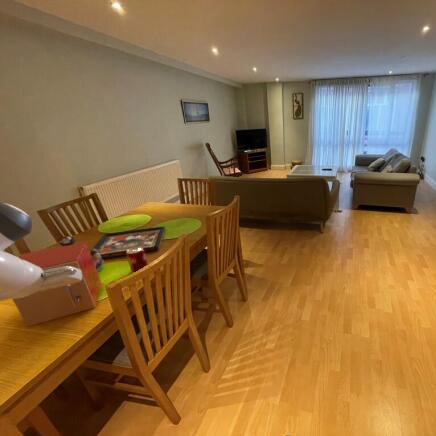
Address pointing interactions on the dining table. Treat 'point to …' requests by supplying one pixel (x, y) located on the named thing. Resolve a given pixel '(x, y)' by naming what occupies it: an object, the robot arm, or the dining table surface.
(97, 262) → the bison figurine
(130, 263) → the soda can
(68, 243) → the sundae
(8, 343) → the dining table surface
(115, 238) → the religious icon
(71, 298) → the hinged door with handle
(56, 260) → the cabinet
